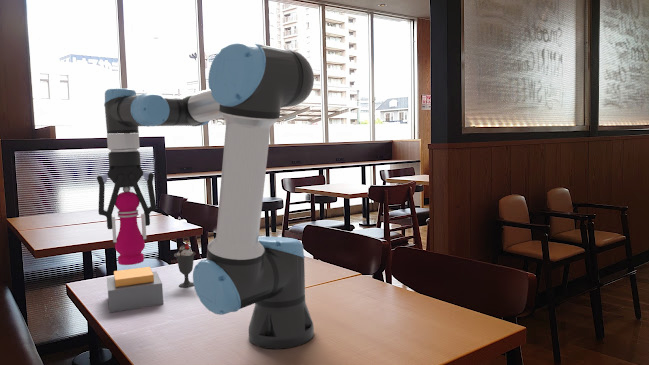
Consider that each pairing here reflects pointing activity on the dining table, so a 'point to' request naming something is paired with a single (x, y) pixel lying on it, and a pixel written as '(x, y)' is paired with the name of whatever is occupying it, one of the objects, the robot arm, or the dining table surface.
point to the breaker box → (134, 294)
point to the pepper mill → (129, 229)
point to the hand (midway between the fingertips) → (129, 239)
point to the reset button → (133, 276)
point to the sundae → (185, 263)
